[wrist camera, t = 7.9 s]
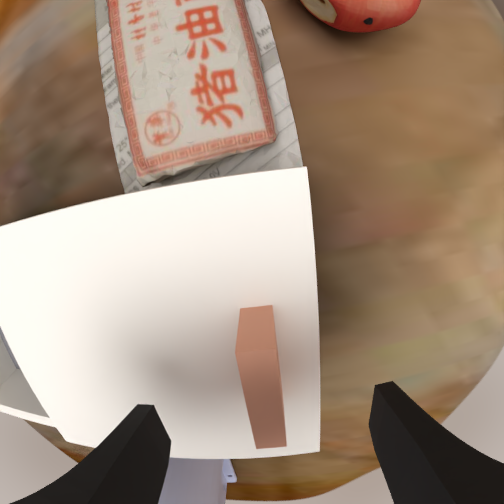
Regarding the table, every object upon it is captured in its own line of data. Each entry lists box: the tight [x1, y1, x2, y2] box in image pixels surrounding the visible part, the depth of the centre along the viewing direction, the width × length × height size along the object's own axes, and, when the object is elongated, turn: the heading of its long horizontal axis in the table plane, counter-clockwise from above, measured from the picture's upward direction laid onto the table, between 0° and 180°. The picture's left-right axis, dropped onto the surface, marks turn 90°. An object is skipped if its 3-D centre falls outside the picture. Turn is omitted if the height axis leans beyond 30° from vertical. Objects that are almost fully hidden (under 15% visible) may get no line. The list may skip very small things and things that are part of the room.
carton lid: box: [0, 166, 320, 459], centre depth 12 cm, size 15×17×3 cm
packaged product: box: [95, 0, 303, 194], centre depth 13 cm, size 18×5×10 cm
